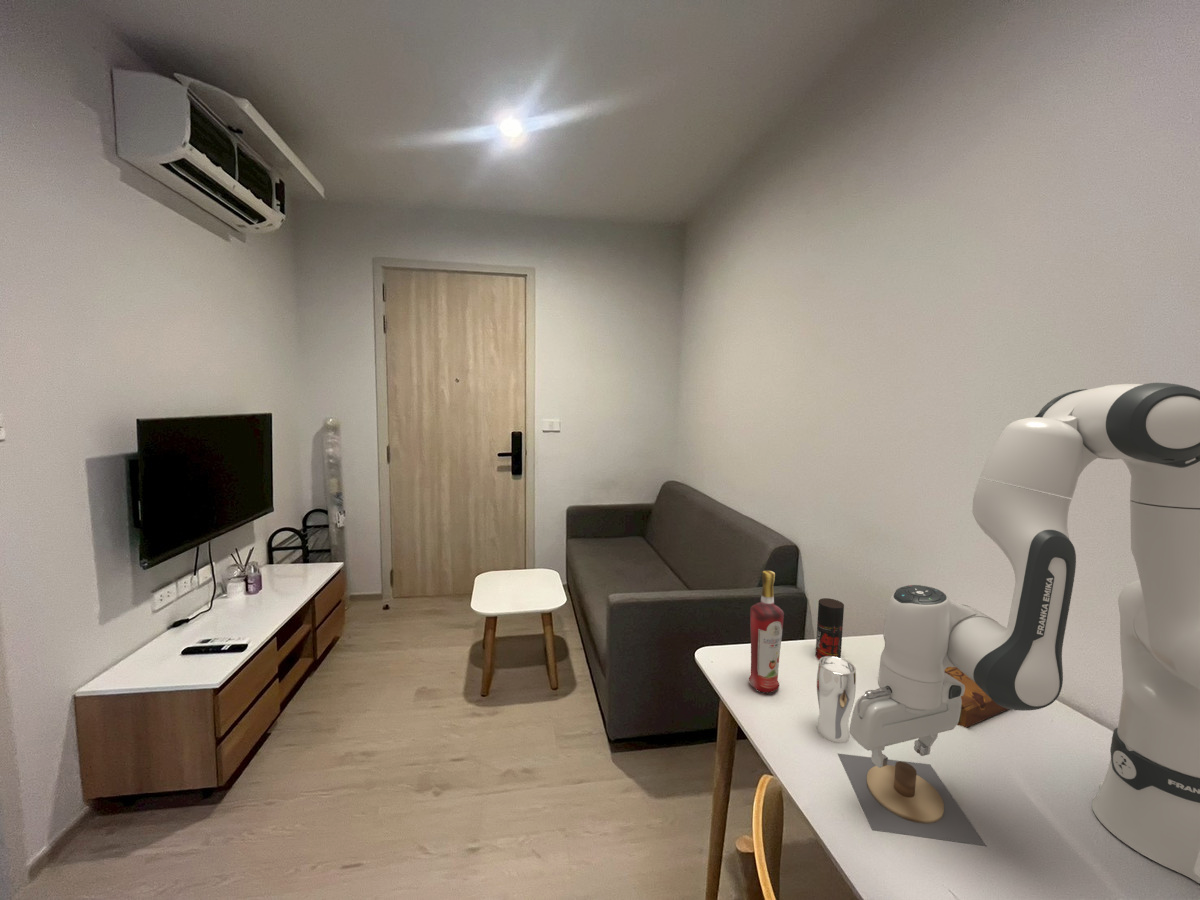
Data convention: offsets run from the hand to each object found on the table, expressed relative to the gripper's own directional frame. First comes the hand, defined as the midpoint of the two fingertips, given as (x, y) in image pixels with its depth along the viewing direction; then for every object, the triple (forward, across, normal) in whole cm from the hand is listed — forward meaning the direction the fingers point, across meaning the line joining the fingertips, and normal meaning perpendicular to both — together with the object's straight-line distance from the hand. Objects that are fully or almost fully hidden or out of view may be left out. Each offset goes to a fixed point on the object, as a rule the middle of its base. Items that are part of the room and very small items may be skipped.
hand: (900, 758), depth 79 cm
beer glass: (+7, 0, +15) cm, 17 cm away
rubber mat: (+7, +1, -1) cm, 7 cm away
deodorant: (+8, +21, +38) cm, 44 cm away
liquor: (+8, -3, +32) cm, 33 cm away
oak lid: (+6, +1, -1) cm, 6 cm away
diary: (+7, +38, +19) cm, 43 cm away
